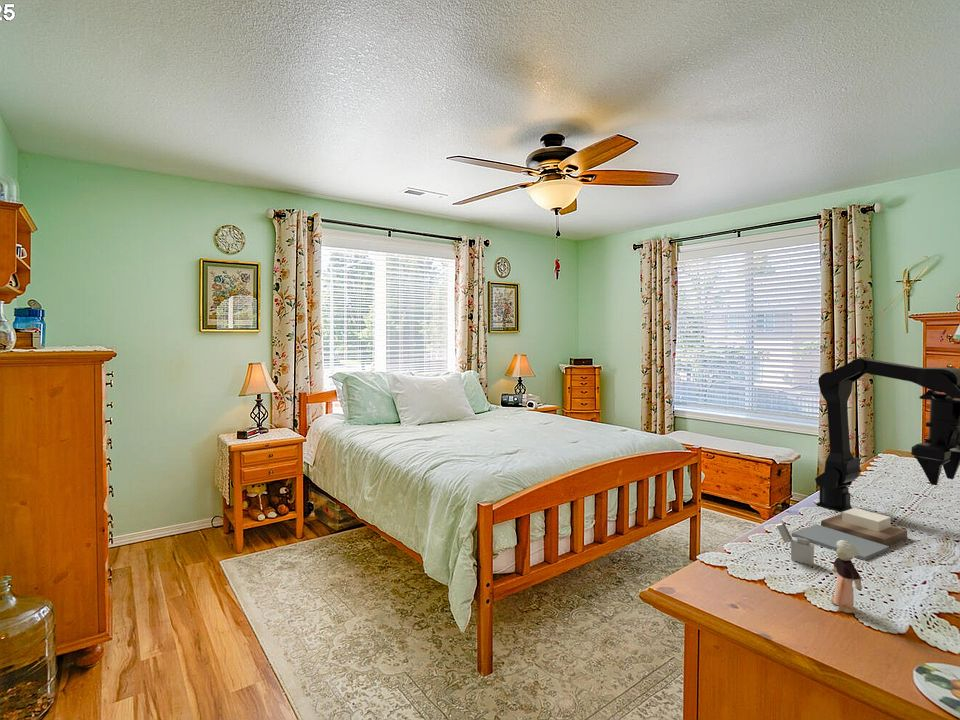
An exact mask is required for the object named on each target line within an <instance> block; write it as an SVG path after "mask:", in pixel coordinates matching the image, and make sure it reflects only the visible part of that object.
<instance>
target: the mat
mask: <svg viewBox="0 0 960 720" xmlns="http://www.w3.org/2000/svg"><path fill="white" fill-rule="evenodd" d="M791 537H792V538H793V537H794V538H796V537H797V538H798V537H800V538H804V539H807V540H808V541H809V542H810V543H811V542H812V543H811V544H814V543H815V544H814V545H817V546H820V547H823V548H826V547H827V548H826V549H829V548H830V550H832V549H833V551H835V550H836V551H837V548H838V547H837V545H836V544H837V542H838V541H839V540H844V541H847V542H849V543H851V544H853V546H854V547H855V548H856V550H857V551H858V553H859V554H858V556H855V557H854V558H856V559H858V558H859V560H861V559H862V561H864V560H865V561H867V560H869V559H871V558H874V557H876V556H878V555H880V554H882V553H885V552H888V551H890V546H886V545H883V544H880V543H876V542H873V541H870V540H867V539H863V538H860V537H857V536H853V535H850V534H847V533H844V532H840V531H837V530H834V529H830V528H827V527H824V526H821V524H817V523H816V524H812V525H809V526H807V527H804V528H802V529H798V530H796V531H792V532H791ZM797 538H796V539H797ZM836 551H835V552H836Z"/></svg>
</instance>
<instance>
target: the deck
mask: <svg viewBox="0 0 960 720" xmlns="http://www.w3.org/2000/svg"><path fill="white" fill-rule="evenodd" d="M820 525H821V526H824V527H827V528H830V529H834V530H837V531H840V532H844V533H847V534H850V535H853V536H857V537H860V538H863V539H867V540H870V541H873V542H876V543H880V544H883V545H886V546H889V547H890V546H892V545H894V544H897V543H900V542H901V541H904V540H907V539H908V530H907V529H905V528H901V527H897V526H894V525H891V527H889V528H887V529H884V530H882V531H879V532H877V531H874V530H870V529H867V528H863V527H860V526H856V525H853V524H849V523H846V522H843V521H842V513H839V514H836V515H833V516H831V517H828V518H825V519H822V520H820Z"/></svg>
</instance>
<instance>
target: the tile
mask: <svg viewBox="0 0 960 720" xmlns="http://www.w3.org/2000/svg"><path fill="white" fill-rule="evenodd" d="M841 514H842V521H843V522H846V523H849V524H853V525H856V526H860V527H863V528H867V529H870V530H874V531H877V532H879V531H882V530H884V529H887V528H889V527H891V526H892V525H891V519H892V518H891V516H888V515H884V514H881V513H876V512H873V511H869V510H864V509H862V508H861V509H860V508H856V507H853V508H852V507H851V508H848V509H845V510H843V511H841Z"/></svg>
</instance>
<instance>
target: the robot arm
mask: <svg viewBox="0 0 960 720" xmlns="http://www.w3.org/2000/svg"><path fill="white" fill-rule="evenodd" d="M866 374H869V375H874V376H880V377H885V378H889V379H896V380H900V381H906V382H911V383H914V384H916V385H918V386H920V387H922V388H924V389H928V390H927V391H926V392H925V393H923V394H922V395H920V396H918V397H919V399H920V400H929V401H930V403H929V421H926V422H925V427H928V437H926V438H925V439H924V442H919V443H916V444H915V445H912V446H911V452H910V453H911V455H912V456H913V458H914V459H916V460H917V462H918V464H919V465H920V467H921V468H922V471H923V473H924V474H925V476H926V478H927V480H928V481H929V484H930V485H932V486H938V485H939V479H940V476H941V471H942V468H943V471H944V472H945V477H946V478H947V479H949V480H954V479H955V477H956V475H957V472H958V470H959V467H960V368H957V367H937V366H935V367H934V366H933V367H924V366H923V367H919V366H914V365H907V364H902V363H897V362H896V363H895V362H890V361H883V360H876V359H872V358H870V357H857V358H854V359H853V360H851V361H850V362H848V363H847V364H844V365H842V366H840V367H838V368H836V369H834V370H832V371H828V372H824V373H822V374H821V375H820V376H819V377H818V383H817V384H818V387H819V391H820V394H821V396H822V397H823V399H824V401H825V403H826V411H827V424H828V428H827V429H828V440H829V441H828V442H829V453H828V455H827V457H826V460H825V466H824V470H823V471H824V472H823V473H820V474H819V475H818V476H816V477H815V478H814V481H815V483H816V486H817V487H819V501H818V502H816V504H815V505H816V506H820V507H823V508H827V509H831V510H834V511H837V512H843V511H846V510H849V509H852V505H851V493H850V492H849V490H850V489H849V487H848V486H851V485H852V484H853V481H856V479H858V478H859V476H860V475H859V474H860V473H862V472H863V471H862V470H861V467H860V466H861V465H860V464H861V459H860V458H859V457H854V456H853V454H852V451H851V445H850V444H851V442H850V428H849V426H850V425H849V412H848V401H849V398H850V396H851V394H852V391H853V390H852V389H853V383H854V382H856V381H858V380H860V379H861V378H862V377H863V376H864V375H866Z"/></svg>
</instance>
